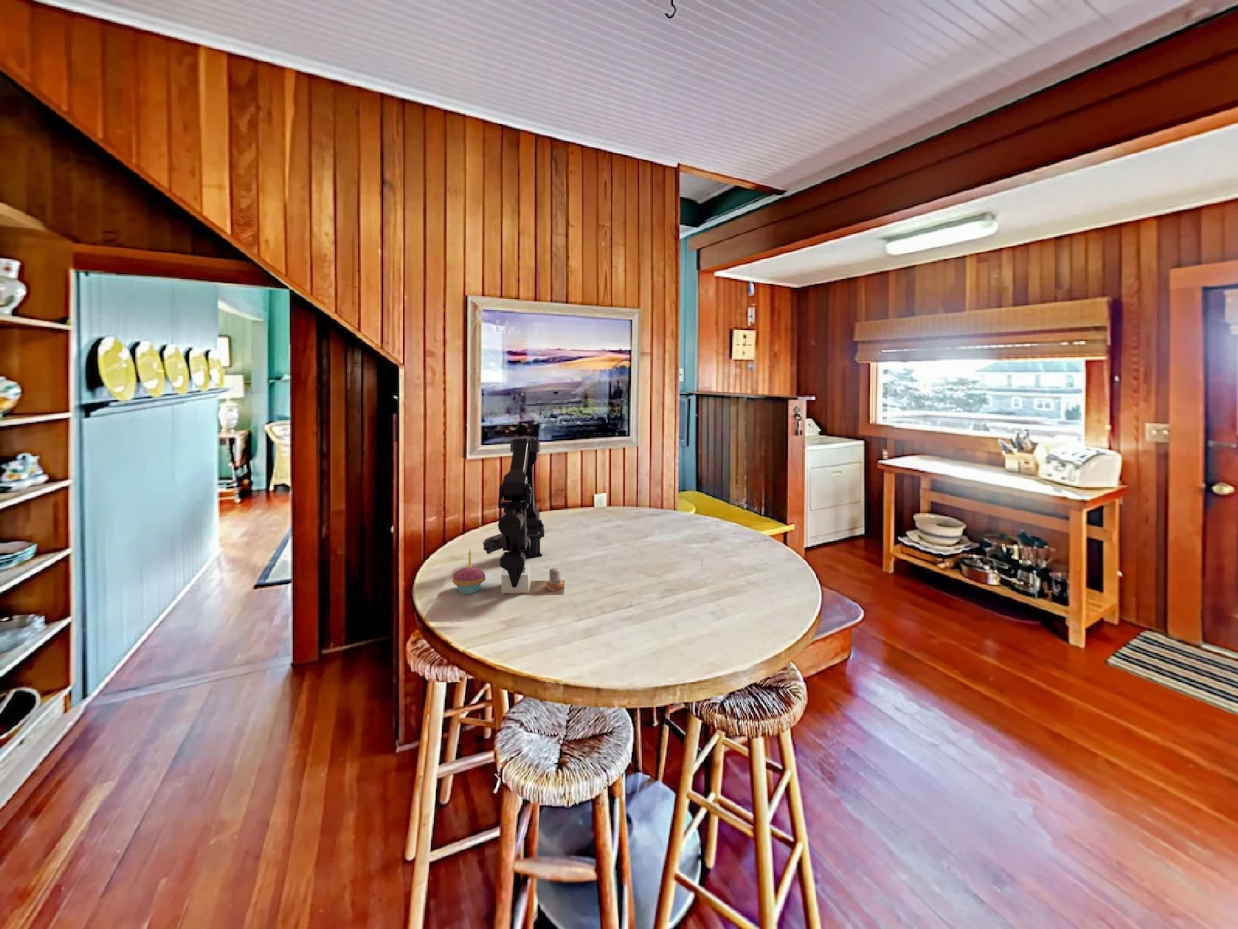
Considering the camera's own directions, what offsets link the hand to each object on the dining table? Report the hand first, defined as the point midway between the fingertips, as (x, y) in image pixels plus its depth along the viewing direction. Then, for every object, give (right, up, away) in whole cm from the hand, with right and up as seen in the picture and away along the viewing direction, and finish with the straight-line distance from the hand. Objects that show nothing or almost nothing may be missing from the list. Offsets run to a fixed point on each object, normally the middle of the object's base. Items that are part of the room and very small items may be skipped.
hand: (516, 580), depth 153 cm
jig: (+5, -3, +1) cm, 6 cm away
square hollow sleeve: (0, -2, 0) cm, 2 cm away
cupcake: (-12, -3, -1) cm, 13 cm away
